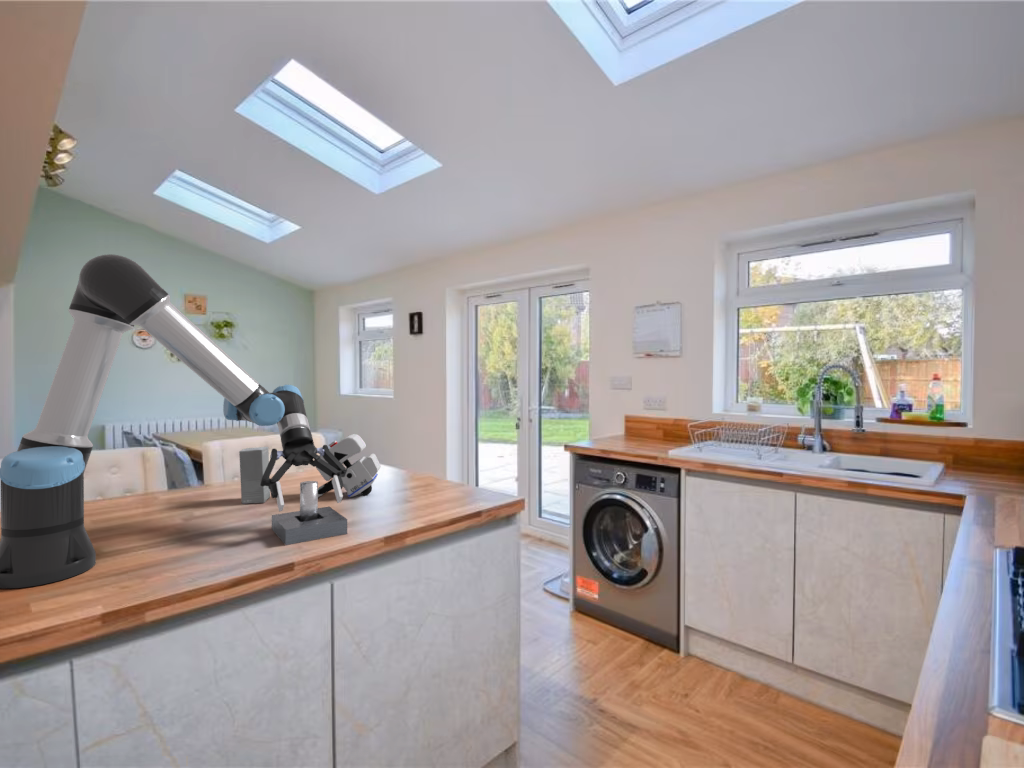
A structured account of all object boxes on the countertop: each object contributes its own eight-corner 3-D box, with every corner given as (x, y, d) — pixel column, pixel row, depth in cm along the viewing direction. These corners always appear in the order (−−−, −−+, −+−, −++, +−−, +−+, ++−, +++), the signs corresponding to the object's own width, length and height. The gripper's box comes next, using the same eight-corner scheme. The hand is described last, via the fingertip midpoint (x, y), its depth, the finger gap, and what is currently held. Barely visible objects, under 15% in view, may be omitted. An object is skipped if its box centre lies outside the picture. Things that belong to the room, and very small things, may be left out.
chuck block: (285, 545, 113) (285, 529, 113) (271, 529, 125) (271, 515, 125) (347, 533, 122) (347, 519, 122) (329, 519, 133) (329, 506, 133)
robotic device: (336, 514, 164) (300, 464, 162) (391, 476, 166) (356, 426, 164) (328, 523, 154) (289, 470, 152) (387, 483, 156) (349, 430, 154)
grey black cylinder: (301, 535, 120) (302, 485, 120) (296, 530, 124) (297, 482, 123) (320, 532, 123) (320, 483, 123) (315, 527, 126) (315, 480, 126)
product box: (264, 503, 148) (264, 449, 148) (237, 504, 146) (237, 450, 146) (271, 496, 156) (271, 445, 156) (246, 497, 155) (246, 446, 154)
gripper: (339, 440, 143) (358, 504, 131) (241, 447, 127) (252, 520, 116) (346, 423, 138) (366, 488, 127) (244, 428, 123) (257, 502, 112)
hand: (311, 503), depth 121 cm, fingers open, 13 cm apart
